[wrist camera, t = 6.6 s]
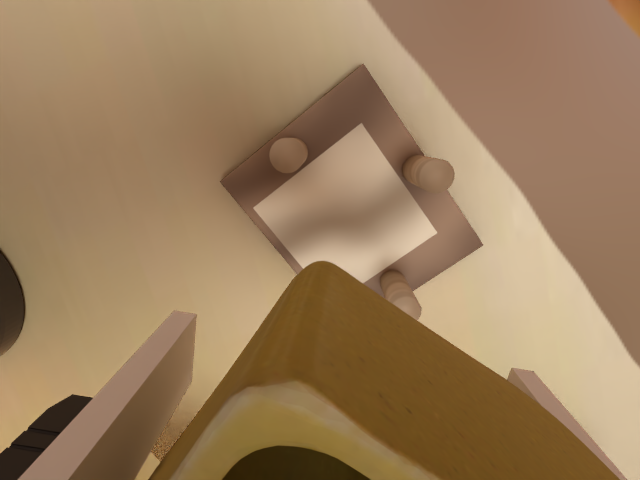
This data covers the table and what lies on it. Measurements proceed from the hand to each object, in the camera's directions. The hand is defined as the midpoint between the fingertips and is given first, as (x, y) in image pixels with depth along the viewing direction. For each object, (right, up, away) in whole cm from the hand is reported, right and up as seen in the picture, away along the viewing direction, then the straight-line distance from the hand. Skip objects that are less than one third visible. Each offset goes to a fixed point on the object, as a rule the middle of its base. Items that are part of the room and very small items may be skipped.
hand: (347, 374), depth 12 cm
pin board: (+2, +7, +15) cm, 17 cm away
